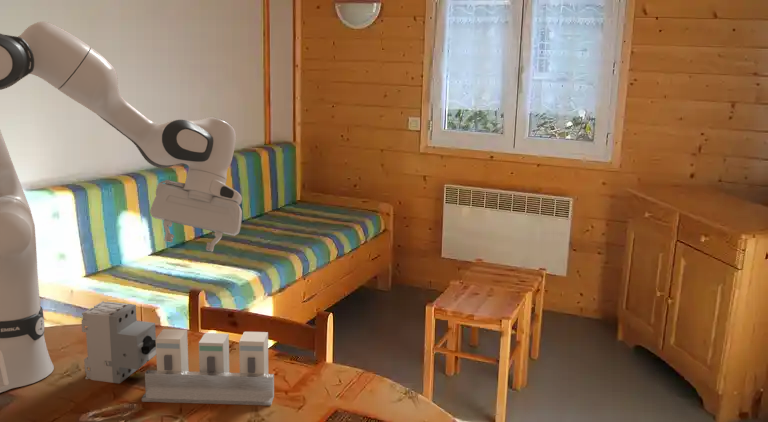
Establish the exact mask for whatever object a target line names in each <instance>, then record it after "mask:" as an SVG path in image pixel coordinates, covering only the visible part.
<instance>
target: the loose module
mask: <svg viewBox="0 0 768 422" xmlns="http://www.w3.org/2000/svg"><path fill="white" fill-rule="evenodd" d="M229 334H230V333H220V332H219V333H218V332H217V333H215V332H213V333H212V332H210V333H209V332H207V333H206V332H205V333H204V334H203V335H202V337H201V339H200V340H199V341H198V361H199V363H198V365H199V372H224V373H230V343H229V341H230V340H229V339H230V337H229Z"/></svg>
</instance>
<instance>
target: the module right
mask: <svg viewBox="0 0 768 422" xmlns="http://www.w3.org/2000/svg"><path fill="white" fill-rule="evenodd" d="M238 345H239V346H238V347H239V348H238V349H239V373H257V374H269V332H268V331H267V332H266V331H243V334H242V335H241V337H240V339H239V341H238Z"/></svg>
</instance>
